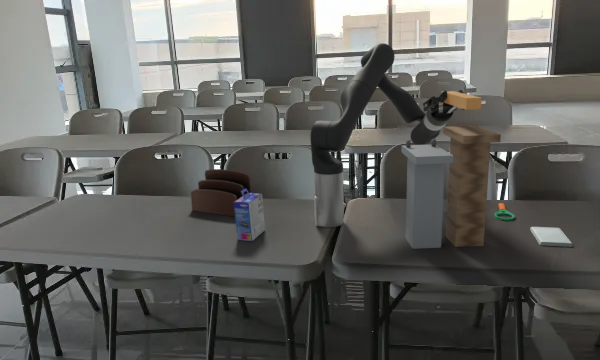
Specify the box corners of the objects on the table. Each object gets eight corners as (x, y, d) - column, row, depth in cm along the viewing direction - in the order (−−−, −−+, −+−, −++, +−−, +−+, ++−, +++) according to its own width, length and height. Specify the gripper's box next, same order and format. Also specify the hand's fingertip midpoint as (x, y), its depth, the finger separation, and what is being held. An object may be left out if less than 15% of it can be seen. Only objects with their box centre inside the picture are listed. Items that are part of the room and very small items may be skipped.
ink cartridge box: (249, 228, 155) (246, 185, 152) (265, 230, 154) (263, 186, 150) (235, 240, 146) (232, 193, 143) (252, 241, 145) (249, 195, 141)
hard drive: (572, 243, 133) (560, 227, 145) (540, 241, 135) (530, 226, 147) (572, 248, 134) (559, 232, 145) (539, 247, 136) (529, 231, 147)
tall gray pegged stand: (413, 254, 132) (416, 149, 125) (399, 233, 147) (401, 138, 140) (448, 253, 132) (453, 147, 125) (431, 232, 148) (434, 137, 140)
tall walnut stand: (457, 252, 132) (463, 135, 124) (439, 231, 148) (443, 126, 140) (492, 251, 132) (500, 134, 124) (470, 230, 148) (476, 125, 140)
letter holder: (208, 203, 184) (205, 167, 181) (253, 209, 176) (250, 171, 172) (191, 211, 176) (188, 173, 172) (237, 217, 167) (234, 178, 163)
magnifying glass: (515, 222, 154) (515, 217, 154) (494, 221, 156) (495, 216, 156) (510, 208, 168) (510, 203, 168) (491, 207, 170) (492, 202, 170)
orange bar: (465, 109, 129) (466, 98, 128) (440, 101, 150) (440, 91, 149) (480, 109, 129) (481, 97, 128) (453, 100, 150) (453, 91, 150)
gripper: (414, 106, 161) (428, 82, 145) (457, 104, 161) (476, 80, 145) (417, 127, 159) (431, 105, 143) (460, 125, 159) (479, 104, 143)
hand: (453, 93), depth 144 cm, fingers closed on orange bar, 4 cm apart
